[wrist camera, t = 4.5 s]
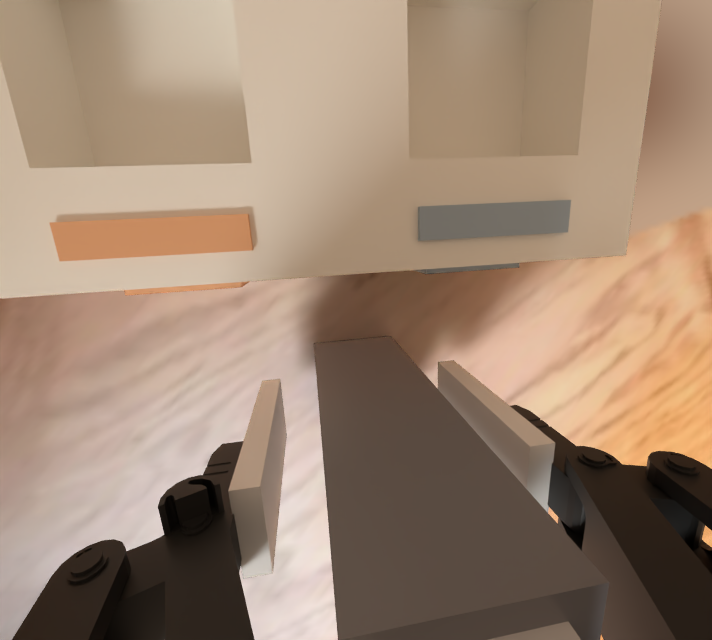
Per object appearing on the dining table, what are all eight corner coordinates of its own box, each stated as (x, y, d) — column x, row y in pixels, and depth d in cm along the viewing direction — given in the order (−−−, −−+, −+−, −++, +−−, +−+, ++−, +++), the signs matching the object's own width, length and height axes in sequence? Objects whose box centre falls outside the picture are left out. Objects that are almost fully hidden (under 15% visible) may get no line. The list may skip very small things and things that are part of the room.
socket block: (104, 283, 15) (-33, 312, 9) (23, -60, 12) (-266, -366, 6) (518, 256, 17) (630, 264, 11) (537, -32, 14) (700, -223, 8)
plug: (320, 414, 18) (360, 895, 5) (313, 343, 17) (342, 701, 4) (392, 405, 18) (609, 816, 5) (390, 336, 17) (650, 628, 4)
